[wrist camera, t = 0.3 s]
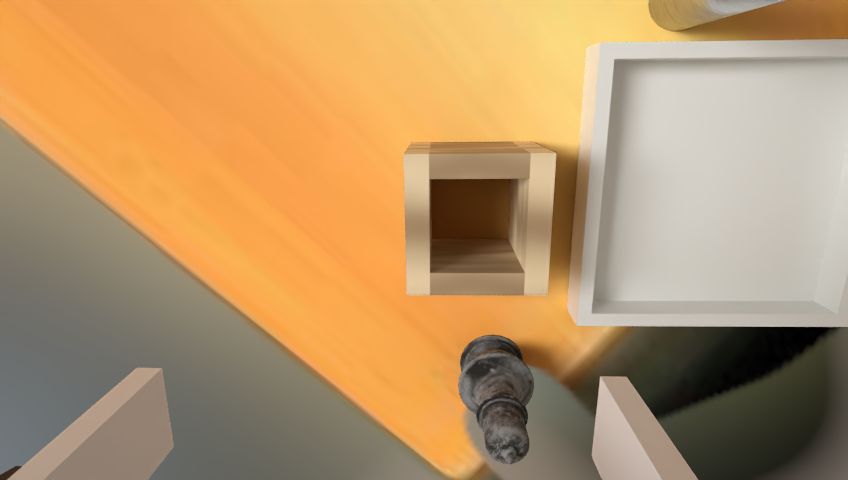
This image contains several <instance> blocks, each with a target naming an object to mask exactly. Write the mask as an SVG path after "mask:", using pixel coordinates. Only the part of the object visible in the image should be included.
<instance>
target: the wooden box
mask: <svg viewBox="0 0 848 480" xmlns="http://www.w3.org/2000/svg"><path fill="white" fill-rule="evenodd" d="M555 168H556V153H555V152H553V151H551V150H549V149H547V148H545V147H542V146H540V145H538V144H536V143H534V142H423V143H411V144H410V145H409V147H408V148H407V150H406V151H405V153H404V192H405V237H406V282H407V295H548V280H549V264H550V248H551V232H552V216H553V200H554V184H555ZM431 179H510V198H509V225H508V239H432V200H431Z"/></svg>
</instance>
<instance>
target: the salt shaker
mask: <svg viewBox="0 0 848 480" xmlns="http://www.w3.org/2000/svg"><path fill="white" fill-rule="evenodd" d="M460 365H461V371H462V373H461V375H460V378H459V384H458V387H459V395H460V397H461V399H462V401H463V403H464V404H465V405H466V406H467V408H468V409H469V410H471V411H472V412H474V413H475V414H476V417H477V423H478V425H479V427H480V429H481V430H482V431H483V432H484V437H485V445H486V449H487V451H488V453H489V455H490V456H491V457H492V458H493V459H495V460H496V461H498V462H501V463H505V464H513V463H516V462H518V461H520V460H521V459H522V458H524V456H526V454H527V452H528V450H529V438H528V434H527V430H526V424H527V420H528V413H527V410H526V407H525V406H526V405H527V404H528V402H529V400H530V398H531V397H532V393H533V389H534V382H533V376H532V374H531V371H530V369H529V368H528V367H527V365H526V364H525V363H524V362H523V359H522V355H521V352H520V350H519V348H518V347H517V346H516V345H515V343H513V342H512V341H511V340H509V339H507V338H505V337H502V336H498V335H486V336H482V337H479V338H477V339H475V340H474V341H472V342H471V343H469V345H468V346H467V347H466V348H465V349H464V351H463V353H462V355H461V361H460Z"/></svg>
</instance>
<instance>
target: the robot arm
mask: <svg viewBox="0 0 848 480" xmlns="http://www.w3.org/2000/svg"><path fill="white" fill-rule="evenodd" d="M173 447H174V445H173V438H172V432H171V425H170V419H169V412H168V405H167V399H166V392H165V386H164V379H163V372H162V368H136V369H135V370H134V371H133V372H132V373H131V374H129V375H128V376H127V377H126V378H125V379H124V380H123V381H121V382H120V383H119V384H118V385H117V386H115V387H114V388H113V389H112V390H111V391H110V392H109V393H108V394H106V395H105V396H104V397H103V398H101V399H100V400H99V401H98V402H97V403H96V404H94V405H93V406H92V407H91V408H90V409H89V410H88V411H86V412H85V413H84V414H83V415H82V416H80V418H78V419H77V420H76V421H75V422H74V423H72V424H71V425H70V426H69V427H68V428H67V429H65V430H64V431H63V432H62V433H61V434H60V435H58V436H57V437H56V438H55V439H54V440H53V441H51V442H50V443H49V444H48V445H47V446H46V447H45V448H43V449H42V450H41V451H40V452H39V453H38V454H36V455H35V456H34V457H33V458H32V459H31V460H30V461H28V462H27V463H26V464H25V465H24V466H15V467H14V468H12V469H10V470H8V471H6V472H5V473H3V474H1V475H0V480H148V479H149V477H150V476H151V475H152V473H153V472H154V471H155V469H156V468H157V467H158V466H159V465H160V463H161V462H162V461H163V459H164V458H165V457H166V456H167V454H168V453H169V452H170V451H171V449H172V448H173ZM592 458H593V460H594V462H595V464H596V467H597V469H598V471H599V473H600V476H601V478H602V480H698V479H697V478H696V476H695V475H694V473H693V472H692V470H691V469H690V467H689V466H688V465H687V463H686V462H685V460H684V459H683V458H682V456H681V455H680V453H679V452H678V450H677V449H676V447H675V446H674V444H673V443H672V442H671V440H670V439H669V437H668V436H667V434H666V433H665V431H664V430H663V429H662V427H661V426H660V424H659V423H658V421H657V420H656V418H655V417H654V416H653V414H652V413H651V411H650V410H649V408H648V407H647V405H646V404H645V403H644V401H643V400H642V398H641V397H640V395H639V394H638V393H637V391H636V390H635V388H634V387H633V385H632V384H631V382H630V381H629V380H628V378H627V377H610V376H600V384H599V393H598V403H597V412H596V421H595V431H594V440H593V450H592Z"/></svg>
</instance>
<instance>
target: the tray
mask: <svg viewBox="0 0 848 480" xmlns="http://www.w3.org/2000/svg"><path fill="white" fill-rule="evenodd" d="M567 310H568V312H569V314H570V315H571V317H572V318H573V320H574V322H575V323H576V325H577V326H753V327H848V39H818V40H750V41H682V42H614V43H598V44H595V45H592V46H589V47H586V60H585V73H584V87H583V100H582V113H581V127H580V140H579V153H578V167H577V180H576V193H575V207H574V220H573V233H572V247H571V260H570V273H569V287H568V300H567Z"/></svg>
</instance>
